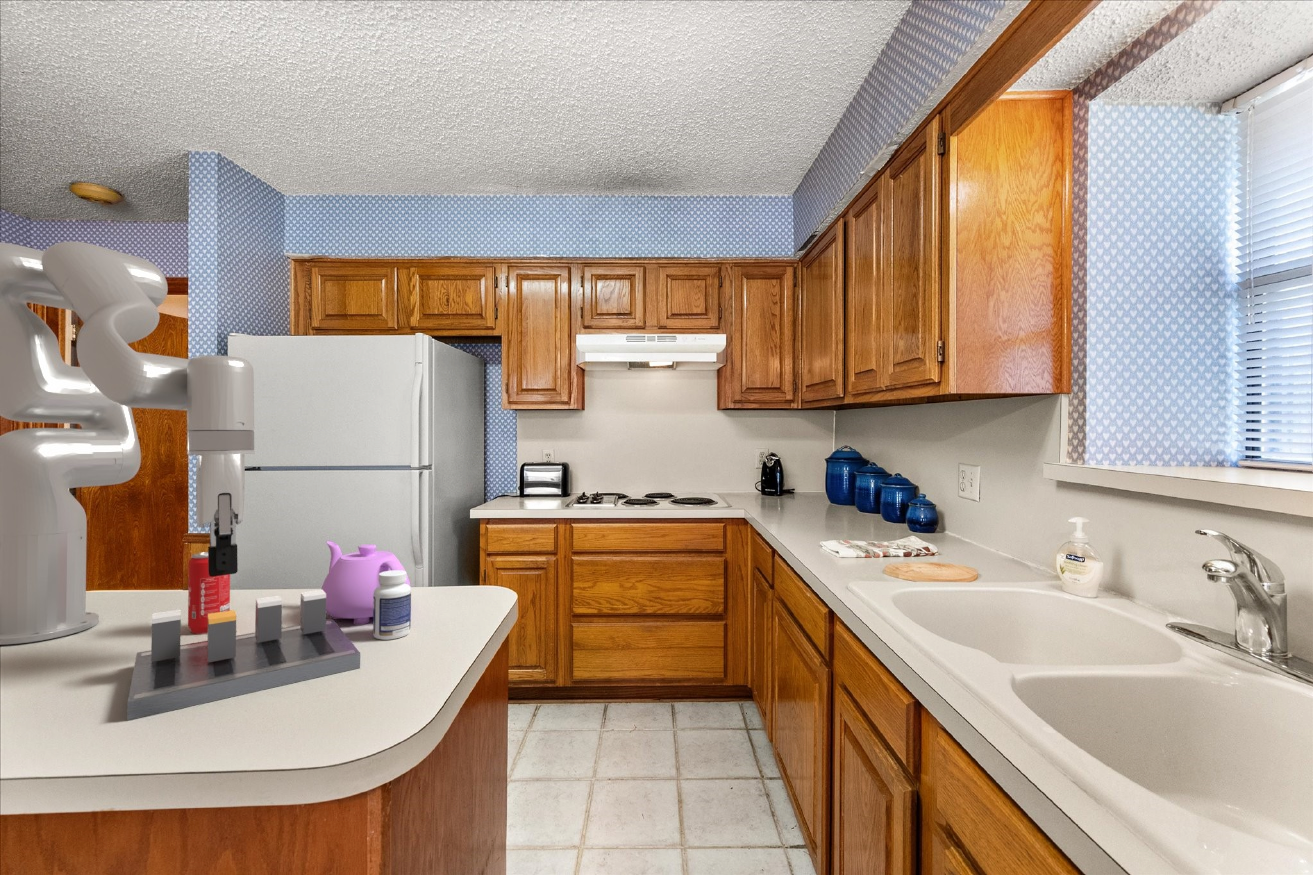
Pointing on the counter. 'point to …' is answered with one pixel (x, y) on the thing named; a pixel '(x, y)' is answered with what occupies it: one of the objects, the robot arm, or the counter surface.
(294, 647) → the panel
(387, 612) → the pill bottle
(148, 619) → the counter surface
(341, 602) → the teapot
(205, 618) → the beverage can
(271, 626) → the breaker
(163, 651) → the block
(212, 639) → the tripped breaker
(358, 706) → the counter surface
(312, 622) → the breaker
